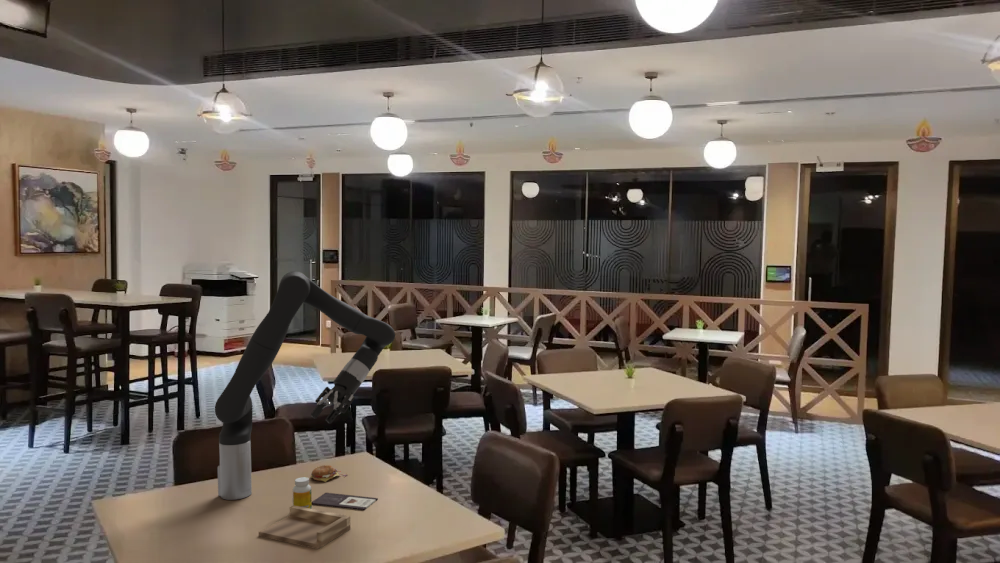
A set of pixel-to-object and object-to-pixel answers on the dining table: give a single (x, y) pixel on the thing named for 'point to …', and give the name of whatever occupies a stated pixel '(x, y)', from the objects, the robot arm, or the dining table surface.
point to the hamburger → (324, 473)
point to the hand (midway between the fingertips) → (320, 419)
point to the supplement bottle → (302, 493)
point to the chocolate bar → (344, 501)
